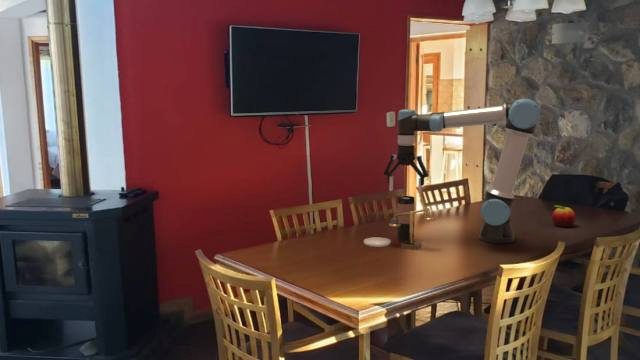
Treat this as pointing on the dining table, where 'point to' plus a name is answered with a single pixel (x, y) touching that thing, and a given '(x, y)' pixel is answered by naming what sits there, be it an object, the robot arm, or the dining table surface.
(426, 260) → the dining table surface
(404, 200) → the travel mug
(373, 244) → the cream round disc
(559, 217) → the fruit
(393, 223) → the balance
